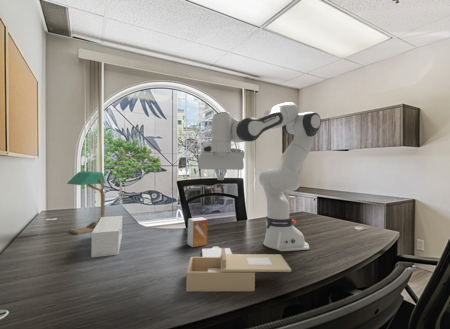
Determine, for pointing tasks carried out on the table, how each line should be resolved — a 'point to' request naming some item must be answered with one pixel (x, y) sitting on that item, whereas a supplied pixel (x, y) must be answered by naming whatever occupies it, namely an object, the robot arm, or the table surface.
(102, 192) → the banker's lamp
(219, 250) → the mounting plate
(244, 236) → the table surface
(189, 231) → the small box
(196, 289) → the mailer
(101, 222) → the stack of papers
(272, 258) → the lid
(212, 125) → the robot arm
